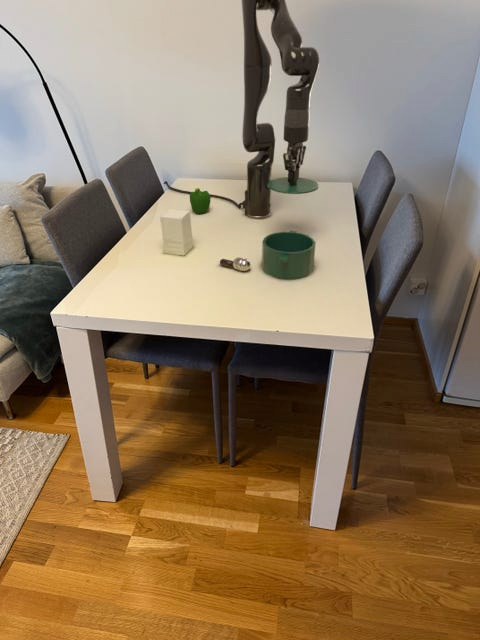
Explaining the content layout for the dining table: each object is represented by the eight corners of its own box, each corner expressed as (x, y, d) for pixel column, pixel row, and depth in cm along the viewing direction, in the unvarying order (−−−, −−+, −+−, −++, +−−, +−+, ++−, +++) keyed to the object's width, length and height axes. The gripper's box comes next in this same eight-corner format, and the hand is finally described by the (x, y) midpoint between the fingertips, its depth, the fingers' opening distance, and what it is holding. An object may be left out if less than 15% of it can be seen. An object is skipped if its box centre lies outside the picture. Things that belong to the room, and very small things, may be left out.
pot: (256, 280, 131) (256, 254, 126) (268, 251, 148) (269, 226, 143) (309, 286, 128) (312, 259, 123) (315, 255, 145) (318, 230, 140)
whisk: (217, 267, 138) (216, 256, 136) (223, 262, 141) (223, 251, 139) (246, 274, 134) (246, 263, 132) (252, 269, 137) (252, 258, 135)
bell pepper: (201, 207, 184) (200, 182, 178) (214, 211, 179) (214, 187, 173) (185, 212, 179) (183, 187, 173) (198, 217, 174) (197, 191, 168)
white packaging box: (193, 247, 151) (191, 210, 144) (184, 256, 145) (181, 218, 138) (173, 244, 153) (170, 208, 146) (163, 253, 147) (159, 216, 140)
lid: (263, 193, 141) (263, 174, 138) (272, 179, 155) (272, 160, 151) (316, 197, 138) (317, 177, 135) (320, 182, 152) (322, 163, 148)
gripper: (293, 119, 142) (290, 174, 152) (275, 127, 132) (273, 185, 142) (316, 121, 139) (311, 177, 149) (299, 129, 129) (295, 188, 139)
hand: (293, 181), depth 145 cm, fingers closed on lid, 2 cm apart
